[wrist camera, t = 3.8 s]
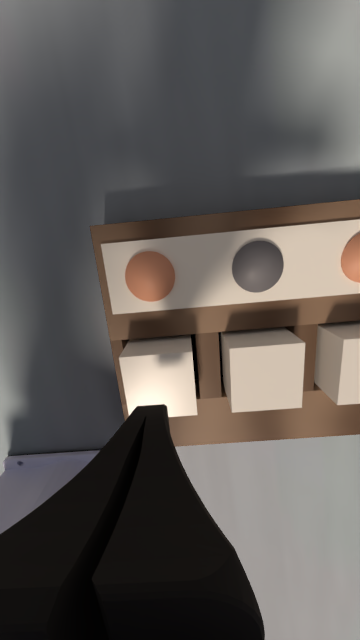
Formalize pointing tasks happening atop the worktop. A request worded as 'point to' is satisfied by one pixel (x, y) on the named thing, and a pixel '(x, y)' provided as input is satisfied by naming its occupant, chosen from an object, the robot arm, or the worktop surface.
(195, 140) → the worktop surface
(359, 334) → the key
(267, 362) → the key
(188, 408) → the key
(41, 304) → the worktop surface
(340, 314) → the button board
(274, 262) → the pattern card
